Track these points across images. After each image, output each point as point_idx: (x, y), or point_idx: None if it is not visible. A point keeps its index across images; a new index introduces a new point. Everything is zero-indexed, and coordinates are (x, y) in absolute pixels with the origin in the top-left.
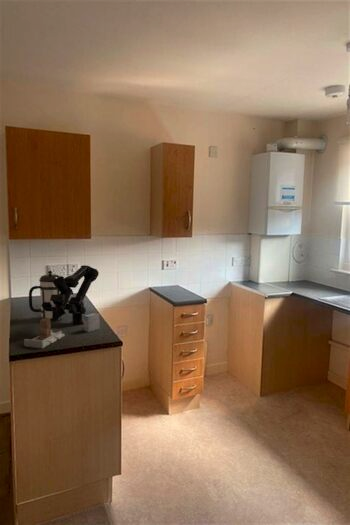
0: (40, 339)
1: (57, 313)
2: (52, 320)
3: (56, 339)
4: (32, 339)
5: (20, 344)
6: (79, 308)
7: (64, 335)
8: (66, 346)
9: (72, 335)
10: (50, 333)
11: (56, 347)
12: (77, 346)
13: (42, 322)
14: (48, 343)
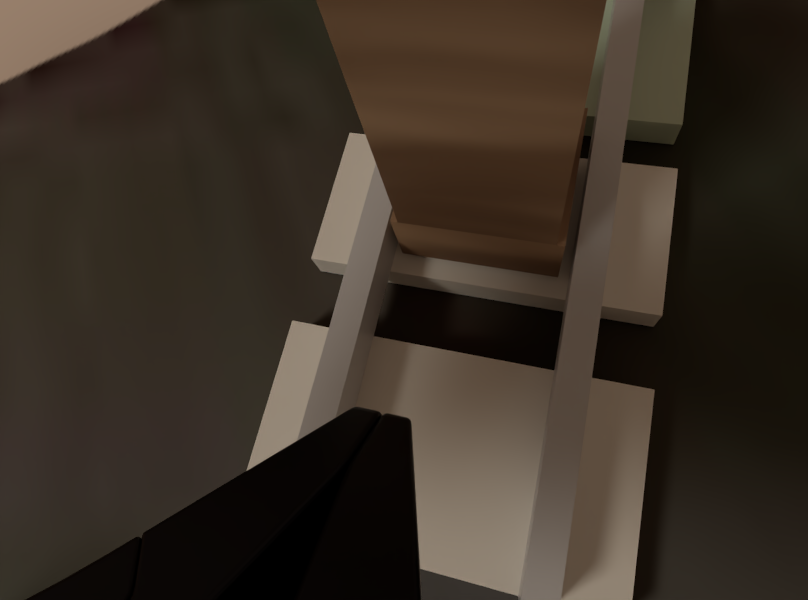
0: None
1: (55, 597)
2: (400, 418)
3: (318, 262)
4: (626, 1)
5: (803, 33)
6: None
7: None
8: (137, 74)
9: (113, 542)
10: (398, 211)
11: (247, 28)
12: (13, 95)
13: None
14: None
